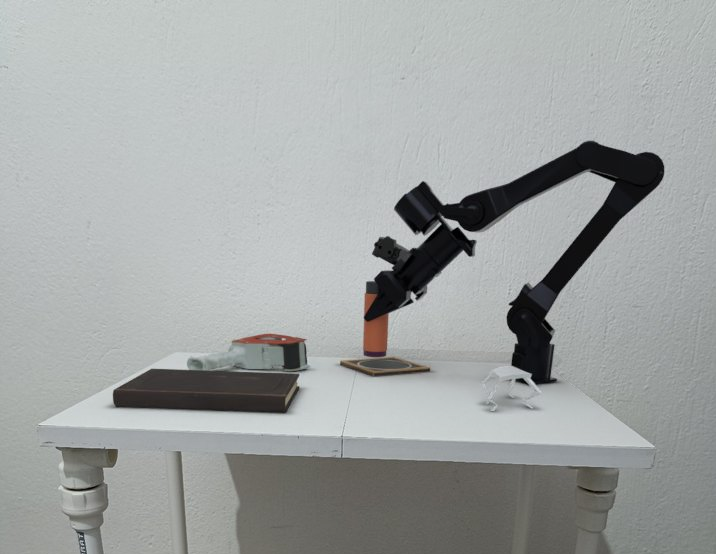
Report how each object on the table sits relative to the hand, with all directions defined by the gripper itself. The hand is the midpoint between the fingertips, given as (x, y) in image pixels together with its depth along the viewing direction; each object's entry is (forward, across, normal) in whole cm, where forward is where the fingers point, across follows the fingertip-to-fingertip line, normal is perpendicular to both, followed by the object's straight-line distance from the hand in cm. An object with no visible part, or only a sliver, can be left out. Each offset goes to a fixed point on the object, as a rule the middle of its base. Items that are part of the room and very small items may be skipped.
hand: (368, 318), depth 120 cm
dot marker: (+4, 0, +6) cm, 7 cm away
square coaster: (+4, +1, +8) cm, 9 cm away
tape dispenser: (+19, +10, -7) cm, 23 cm away
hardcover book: (+16, +34, -3) cm, 38 cm away
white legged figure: (-13, +20, +26) cm, 35 cm away
